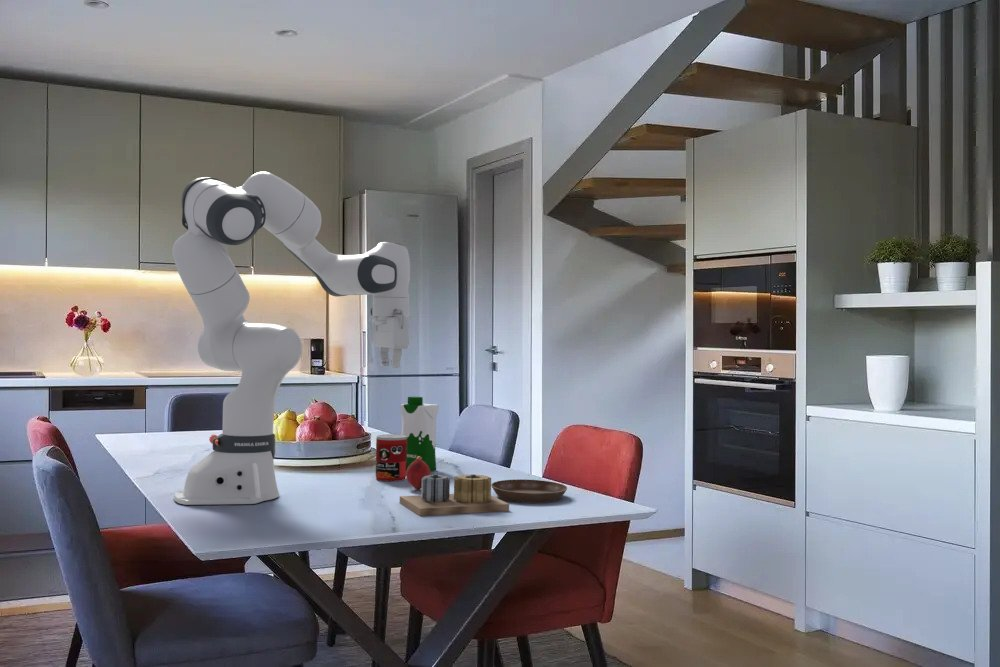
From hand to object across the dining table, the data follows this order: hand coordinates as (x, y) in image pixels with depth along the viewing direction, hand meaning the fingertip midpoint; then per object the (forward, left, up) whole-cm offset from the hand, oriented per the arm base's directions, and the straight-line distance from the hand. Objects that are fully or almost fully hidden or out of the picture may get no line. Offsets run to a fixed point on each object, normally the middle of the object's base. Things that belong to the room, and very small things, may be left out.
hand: (390, 366), depth 234 cm
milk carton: (+15, +23, -29) cm, 40 cm away
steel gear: (+3, -28, -28) cm, 39 cm away
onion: (+6, -6, -29) cm, 30 cm away
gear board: (+7, -29, -29) cm, 42 cm away
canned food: (+4, +11, -29) cm, 32 cm away
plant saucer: (+28, -22, -30) cm, 46 cm away
